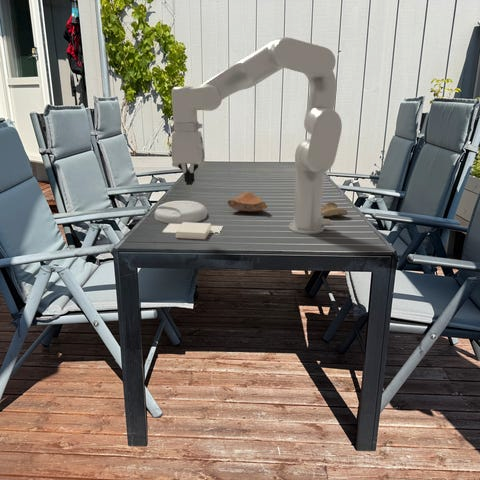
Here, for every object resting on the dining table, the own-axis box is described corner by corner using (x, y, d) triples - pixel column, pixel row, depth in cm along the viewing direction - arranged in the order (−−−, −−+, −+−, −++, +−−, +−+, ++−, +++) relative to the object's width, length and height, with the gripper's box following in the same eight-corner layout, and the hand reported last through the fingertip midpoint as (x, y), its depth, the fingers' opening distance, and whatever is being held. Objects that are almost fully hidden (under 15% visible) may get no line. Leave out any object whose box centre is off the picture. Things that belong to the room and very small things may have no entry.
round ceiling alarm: (225, 223, 178) (225, 208, 176) (170, 237, 163) (169, 221, 161) (190, 208, 196) (190, 194, 194) (137, 219, 181) (136, 204, 179)
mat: (223, 227, 166) (223, 226, 166) (212, 248, 147) (212, 246, 147) (169, 225, 168) (169, 223, 168) (152, 244, 150) (152, 243, 149)
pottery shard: (349, 218, 180) (338, 205, 188) (350, 209, 177) (340, 196, 185) (323, 222, 178) (314, 209, 186) (324, 212, 175) (315, 199, 183)
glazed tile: (210, 223, 160) (183, 222, 162) (205, 233, 151) (175, 231, 152) (210, 230, 161) (183, 228, 163) (205, 240, 152) (175, 238, 153)
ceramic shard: (275, 207, 191) (244, 196, 197) (276, 193, 188) (245, 183, 194) (258, 222, 181) (226, 211, 187) (259, 208, 177) (226, 197, 183)
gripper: (211, 125, 147) (214, 181, 154) (166, 126, 149) (171, 181, 156) (206, 129, 140) (209, 187, 147) (159, 129, 142) (164, 186, 149)
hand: (189, 184), depth 151 cm, fingers closed
